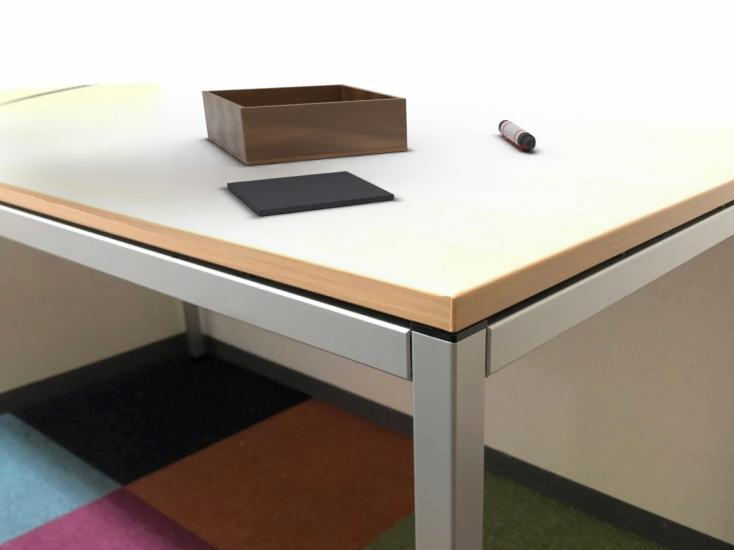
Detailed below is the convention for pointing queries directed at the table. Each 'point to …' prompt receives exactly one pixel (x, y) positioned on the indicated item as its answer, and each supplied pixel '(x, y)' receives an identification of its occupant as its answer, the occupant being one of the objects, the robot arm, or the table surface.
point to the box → (304, 122)
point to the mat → (307, 192)
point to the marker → (517, 135)
